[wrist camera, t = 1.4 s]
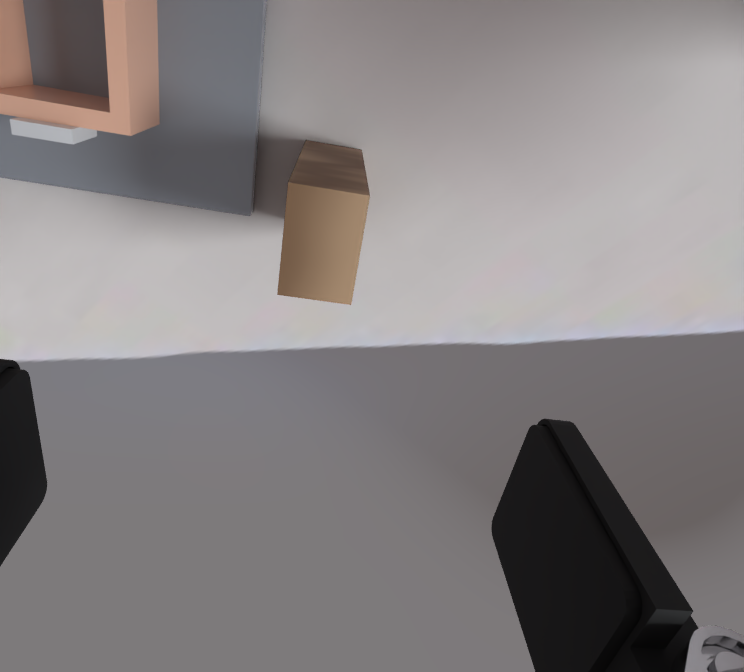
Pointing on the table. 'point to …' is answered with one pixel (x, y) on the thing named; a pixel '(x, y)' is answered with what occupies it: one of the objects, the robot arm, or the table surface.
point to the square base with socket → (134, 97)
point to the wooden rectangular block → (324, 223)
